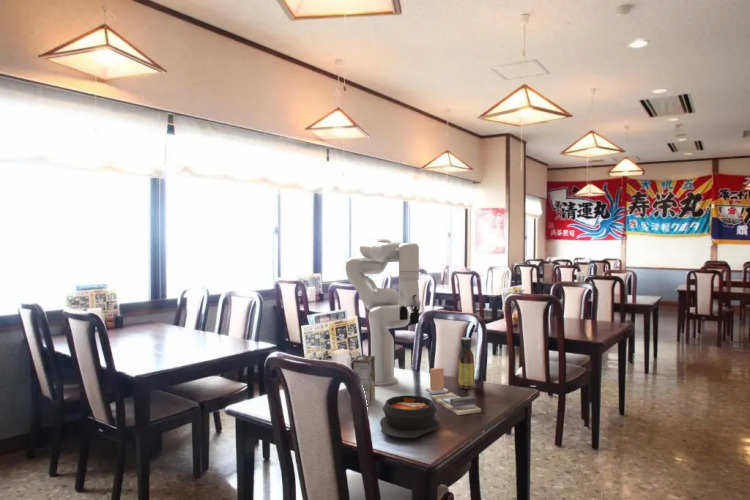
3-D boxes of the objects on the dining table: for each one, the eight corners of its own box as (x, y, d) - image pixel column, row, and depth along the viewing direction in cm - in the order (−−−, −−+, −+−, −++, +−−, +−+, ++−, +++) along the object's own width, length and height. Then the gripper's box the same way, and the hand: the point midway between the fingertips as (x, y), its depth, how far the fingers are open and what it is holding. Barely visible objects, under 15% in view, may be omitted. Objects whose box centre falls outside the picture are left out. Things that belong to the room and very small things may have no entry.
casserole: (393, 412, 175) (393, 388, 174) (447, 419, 168) (447, 393, 168) (367, 439, 151) (367, 411, 151) (428, 448, 145) (428, 418, 144)
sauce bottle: (462, 384, 208) (462, 335, 208) (476, 386, 205) (476, 337, 204) (455, 388, 203) (455, 338, 203) (469, 390, 199) (469, 340, 199)
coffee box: (358, 397, 191) (358, 354, 191) (375, 398, 190) (375, 355, 190) (352, 405, 182) (352, 360, 182) (370, 406, 181) (370, 361, 181)
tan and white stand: (425, 390, 196) (425, 367, 196) (441, 388, 199) (441, 366, 198) (431, 394, 191) (431, 370, 191) (448, 392, 194) (448, 369, 194)
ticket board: (430, 398, 190) (430, 387, 190) (451, 395, 193) (451, 385, 193) (458, 415, 172) (458, 403, 171) (481, 411, 175) (481, 400, 175)
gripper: (390, 274, 198) (390, 318, 199) (409, 277, 182) (409, 325, 183) (408, 274, 201) (408, 317, 201) (428, 277, 185) (428, 324, 185)
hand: (408, 321), depth 192 cm, fingers open, 9 cm apart
